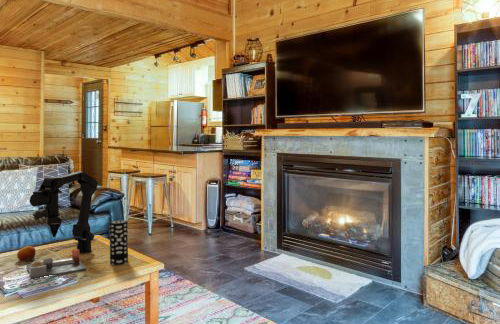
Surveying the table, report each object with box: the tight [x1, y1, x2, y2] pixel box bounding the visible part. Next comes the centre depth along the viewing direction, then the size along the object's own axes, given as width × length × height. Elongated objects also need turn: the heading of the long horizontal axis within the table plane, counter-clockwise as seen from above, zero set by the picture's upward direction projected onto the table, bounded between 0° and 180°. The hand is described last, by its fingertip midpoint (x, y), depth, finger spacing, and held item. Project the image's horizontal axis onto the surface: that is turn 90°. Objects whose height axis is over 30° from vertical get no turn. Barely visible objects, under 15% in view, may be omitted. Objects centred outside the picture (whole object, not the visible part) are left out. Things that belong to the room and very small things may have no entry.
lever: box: [32, 248, 81, 267], centre depth 184 cm, size 20×4×6 cm, turn 124°
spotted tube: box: [109, 219, 129, 266], centre depth 191 cm, size 8×8×20 cm
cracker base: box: [26, 257, 87, 280], centre depth 182 cm, size 22×22×4 cm
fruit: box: [16, 245, 37, 262], centre depth 195 cm, size 8×8×8 cm
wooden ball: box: [31, 260, 44, 267], centre depth 173 cm, size 5×5×5 cm
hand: (53, 235), depth 191 cm, fingers open, 9 cm apart
